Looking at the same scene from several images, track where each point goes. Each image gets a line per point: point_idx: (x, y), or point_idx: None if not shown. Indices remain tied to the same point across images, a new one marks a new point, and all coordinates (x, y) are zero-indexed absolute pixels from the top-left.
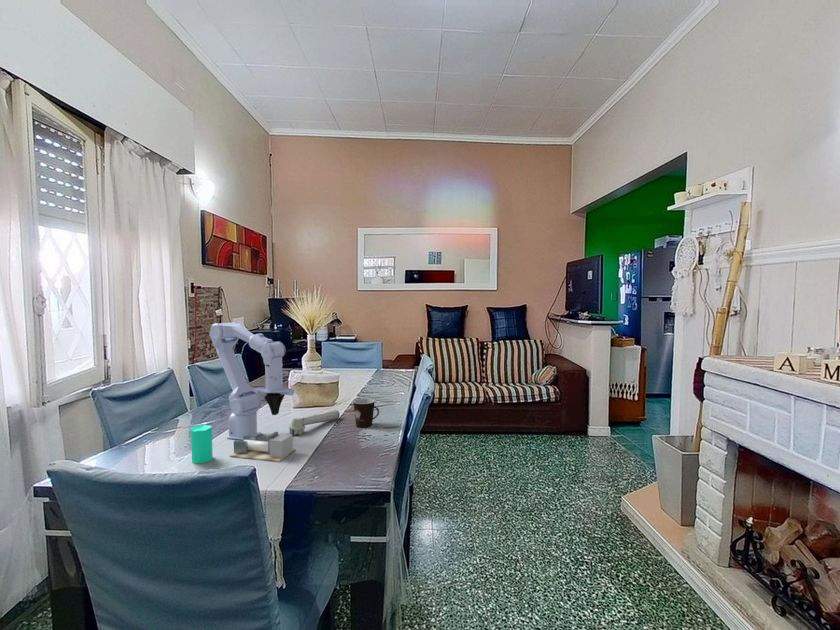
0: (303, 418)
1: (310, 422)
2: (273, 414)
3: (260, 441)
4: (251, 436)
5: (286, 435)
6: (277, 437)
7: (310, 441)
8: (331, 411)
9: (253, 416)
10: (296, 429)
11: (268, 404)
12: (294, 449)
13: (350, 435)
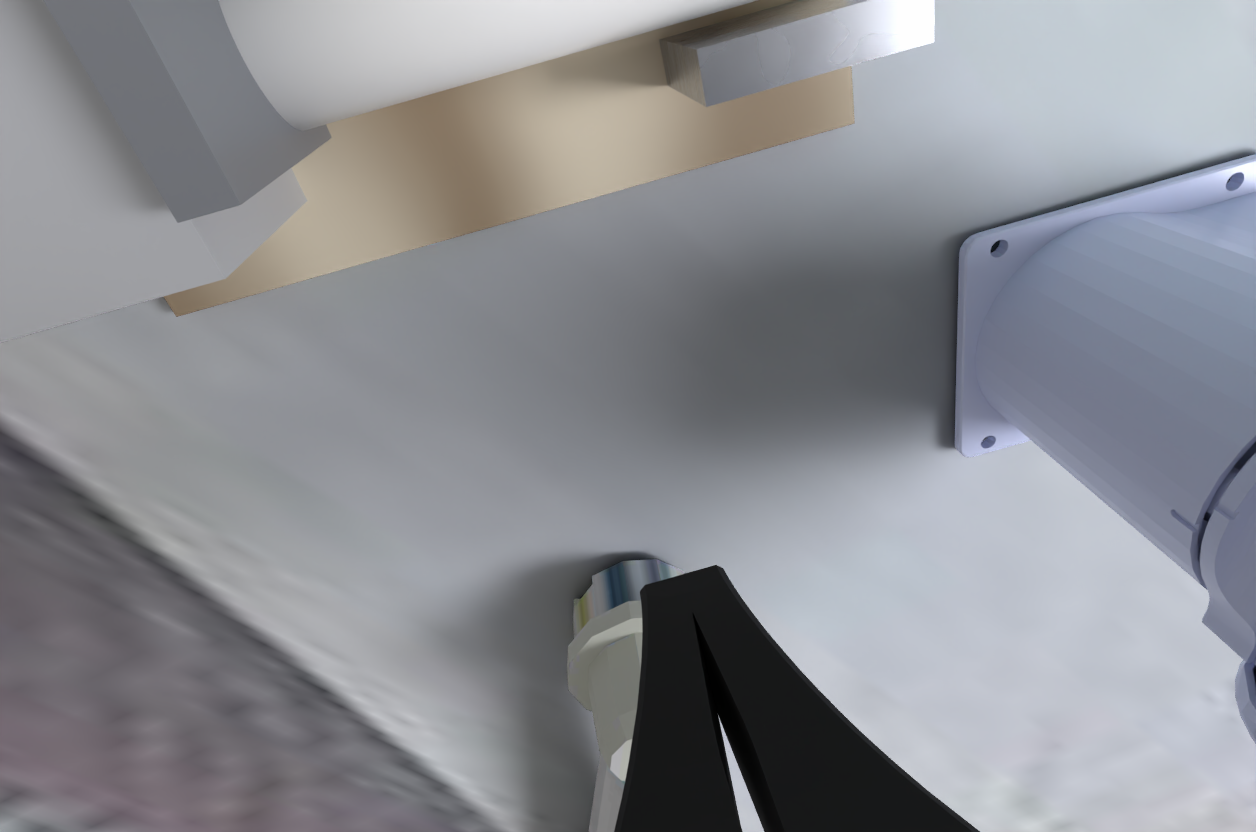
0: None
1: (598, 775)
2: (679, 582)
3: None
4: (787, 52)
5: (16, 260)
6: (28, 77)
7: (318, 554)
8: None
9: (1171, 481)
10: (586, 626)
11: (873, 749)
12: (166, 296)
13: (153, 793)
